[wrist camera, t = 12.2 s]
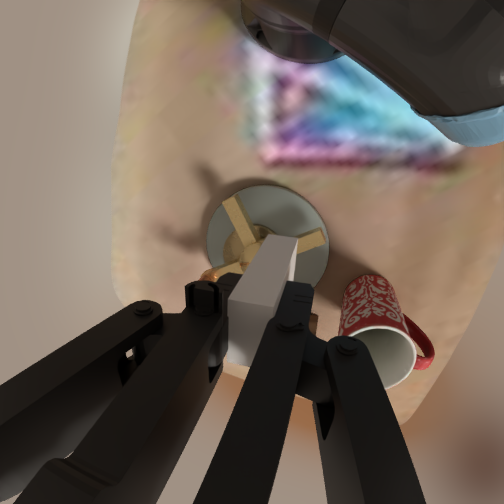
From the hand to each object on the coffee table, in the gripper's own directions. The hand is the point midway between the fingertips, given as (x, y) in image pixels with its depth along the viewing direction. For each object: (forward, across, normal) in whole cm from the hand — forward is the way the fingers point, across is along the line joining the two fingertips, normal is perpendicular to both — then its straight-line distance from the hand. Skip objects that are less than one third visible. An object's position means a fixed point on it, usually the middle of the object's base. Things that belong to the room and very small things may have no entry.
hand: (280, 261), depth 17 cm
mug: (+25, +11, -15) cm, 31 cm away
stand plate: (+24, -5, -9) cm, 26 cm away
